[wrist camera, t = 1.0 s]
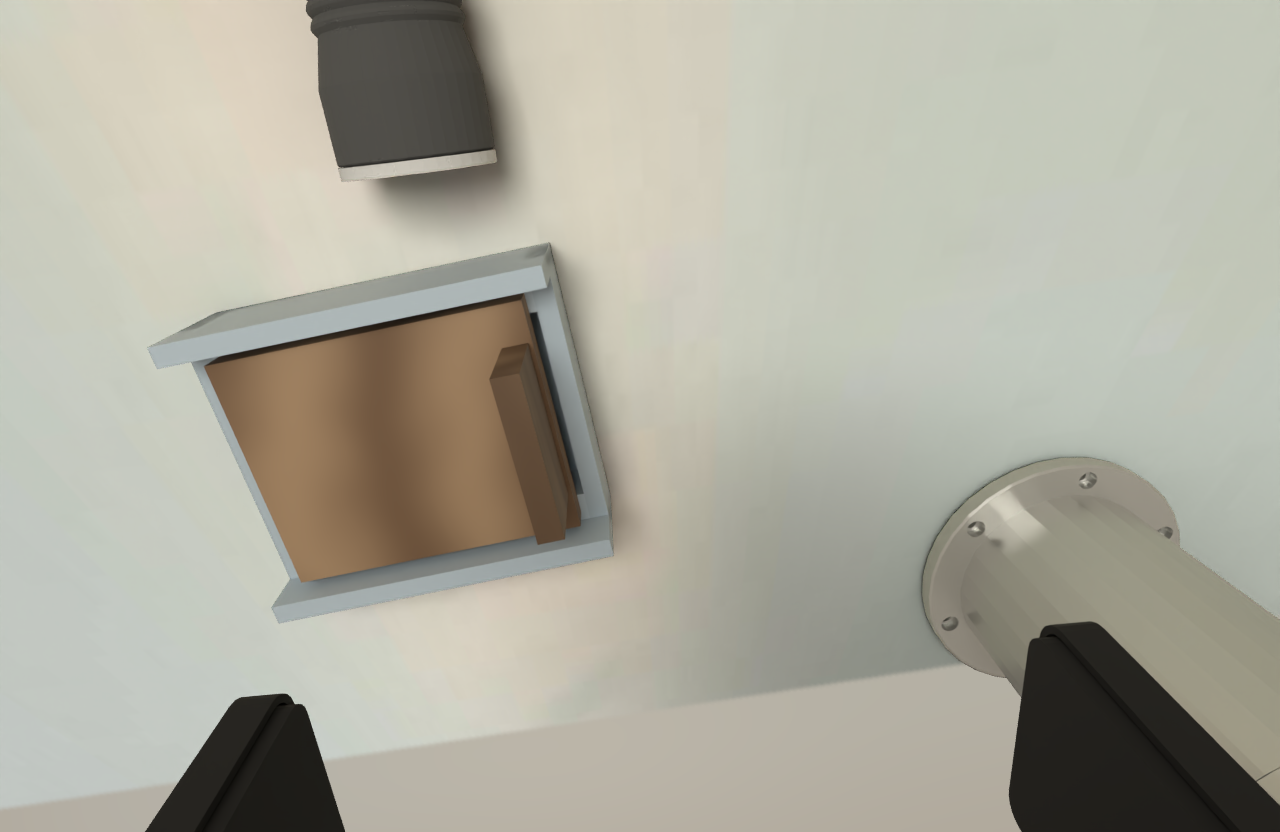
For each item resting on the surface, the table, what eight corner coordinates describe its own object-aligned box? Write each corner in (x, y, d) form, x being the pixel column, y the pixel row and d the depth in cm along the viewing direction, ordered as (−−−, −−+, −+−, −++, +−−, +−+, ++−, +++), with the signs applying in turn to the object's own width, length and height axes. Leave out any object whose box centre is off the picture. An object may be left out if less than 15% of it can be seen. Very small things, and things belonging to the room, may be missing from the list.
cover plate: (524, 292, 27) (511, 325, 23) (581, 511, 31) (579, 575, 27) (219, 356, 28) (148, 400, 23) (311, 566, 31) (266, 638, 27)
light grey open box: (549, 242, 30) (541, 265, 25) (610, 496, 34) (613, 555, 30) (216, 312, 30) (146, 347, 25) (320, 555, 34) (278, 623, 30)
